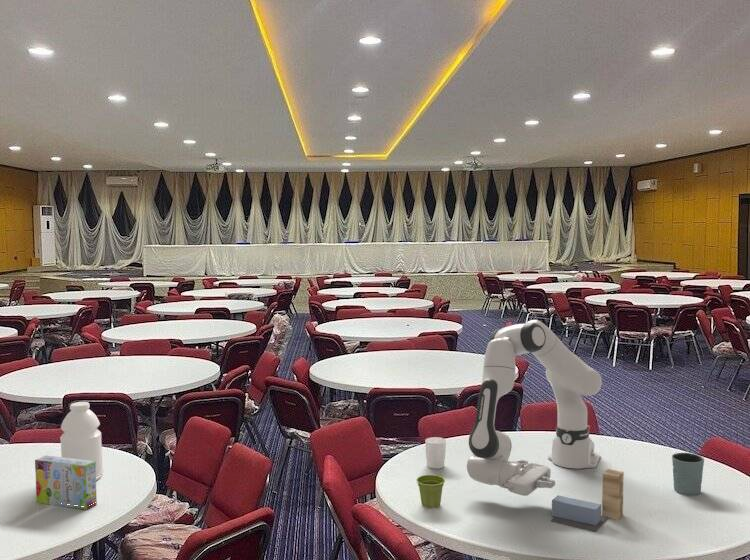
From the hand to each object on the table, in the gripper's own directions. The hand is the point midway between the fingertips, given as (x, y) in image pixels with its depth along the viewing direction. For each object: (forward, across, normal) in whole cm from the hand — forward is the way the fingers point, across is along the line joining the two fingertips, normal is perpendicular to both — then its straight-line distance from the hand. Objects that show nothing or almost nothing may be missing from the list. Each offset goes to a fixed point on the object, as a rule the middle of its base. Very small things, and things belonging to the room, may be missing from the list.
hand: (553, 484), depth 229 cm
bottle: (-155, -66, +10) cm, 169 cm away
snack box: (-138, -83, +10) cm, 161 cm away
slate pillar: (0, 0, +7) cm, 7 cm away
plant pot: (-36, -16, +10) cm, 41 cm away
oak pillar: (+16, +9, +10) cm, 21 cm away
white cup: (-54, +18, +10) cm, 58 cm away
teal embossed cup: (+31, +44, +10) cm, 55 cm away
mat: (+9, 0, +10) cm, 13 cm away
